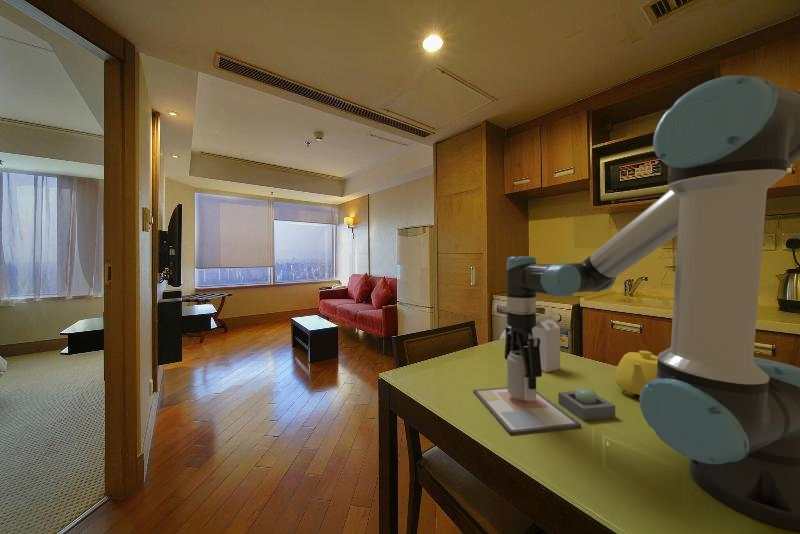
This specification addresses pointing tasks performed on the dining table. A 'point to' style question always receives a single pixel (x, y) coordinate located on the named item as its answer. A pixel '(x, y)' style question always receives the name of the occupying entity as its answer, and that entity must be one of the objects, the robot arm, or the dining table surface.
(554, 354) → the milk carton
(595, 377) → the dining table surface
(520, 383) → the can
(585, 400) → the button
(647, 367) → the teapot
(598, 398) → the button housing
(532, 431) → the picture sheet
